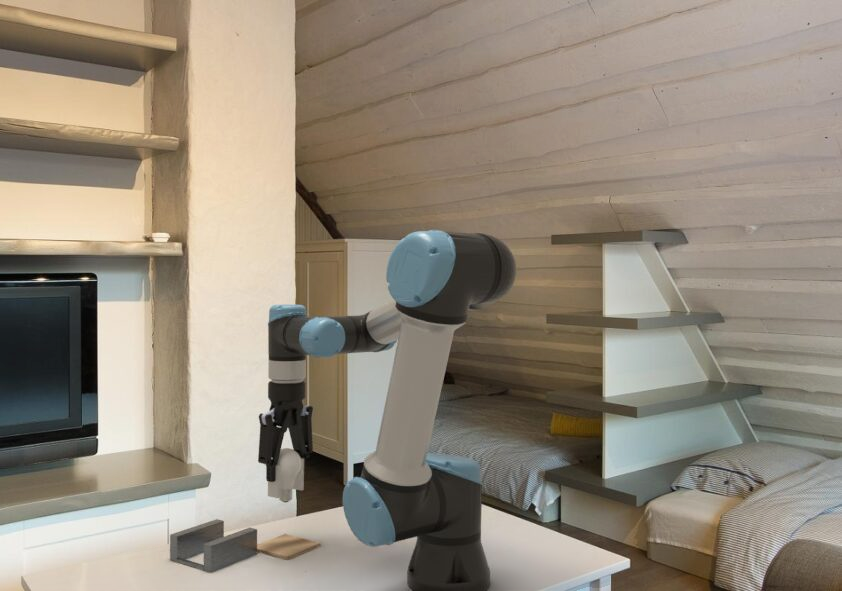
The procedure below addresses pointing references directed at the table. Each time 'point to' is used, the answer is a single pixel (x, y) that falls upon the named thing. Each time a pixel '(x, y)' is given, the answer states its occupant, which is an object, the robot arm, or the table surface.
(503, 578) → the table surface
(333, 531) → the table surface
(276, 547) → the cork pad
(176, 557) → the housing
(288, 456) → the lightbulb
